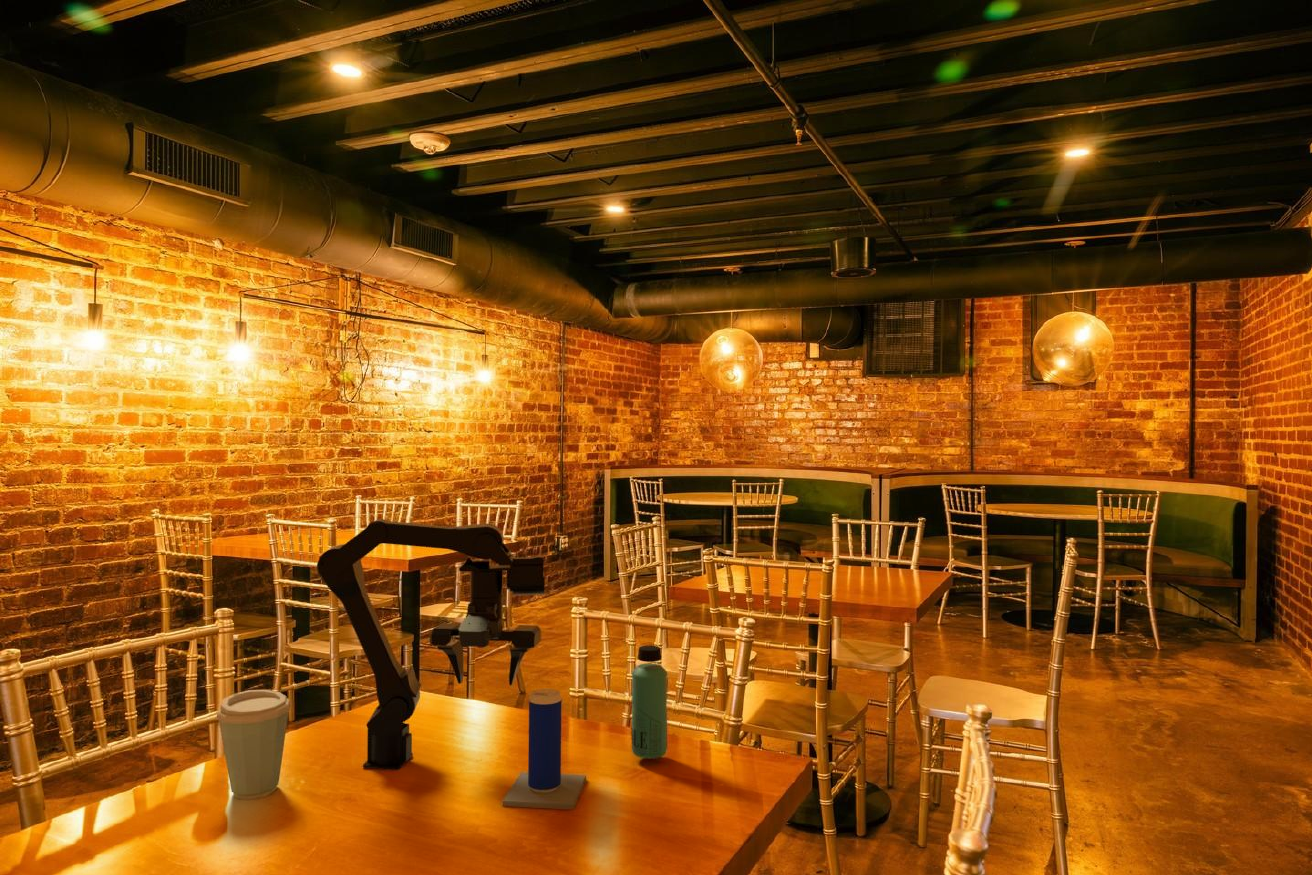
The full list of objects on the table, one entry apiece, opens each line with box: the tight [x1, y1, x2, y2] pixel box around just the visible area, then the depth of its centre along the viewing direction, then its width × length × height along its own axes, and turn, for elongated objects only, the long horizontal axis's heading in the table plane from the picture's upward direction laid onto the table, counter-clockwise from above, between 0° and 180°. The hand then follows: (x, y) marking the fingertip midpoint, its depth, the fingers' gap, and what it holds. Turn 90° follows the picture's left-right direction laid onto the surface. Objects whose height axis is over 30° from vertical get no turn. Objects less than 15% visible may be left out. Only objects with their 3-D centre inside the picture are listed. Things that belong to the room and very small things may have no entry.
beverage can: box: [527, 688, 563, 793], centre depth 130 cm, size 5×5×15 cm
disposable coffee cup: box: [215, 689, 292, 801], centre depth 129 cm, size 11×11×15 cm
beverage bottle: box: [630, 644, 669, 759], centre depth 143 cm, size 6×7×20 cm
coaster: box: [502, 771, 587, 811], centre depth 130 cm, size 11×11×1 cm
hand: (485, 683), depth 144 cm, fingers open, 9 cm apart
